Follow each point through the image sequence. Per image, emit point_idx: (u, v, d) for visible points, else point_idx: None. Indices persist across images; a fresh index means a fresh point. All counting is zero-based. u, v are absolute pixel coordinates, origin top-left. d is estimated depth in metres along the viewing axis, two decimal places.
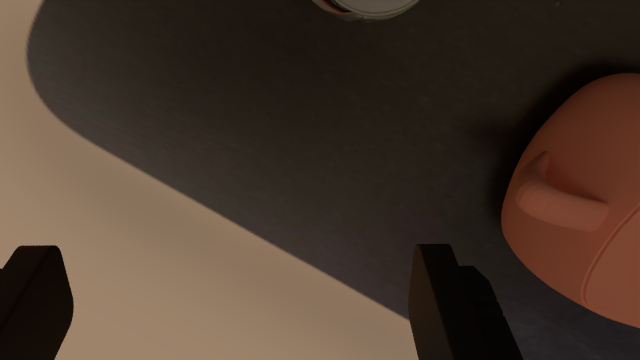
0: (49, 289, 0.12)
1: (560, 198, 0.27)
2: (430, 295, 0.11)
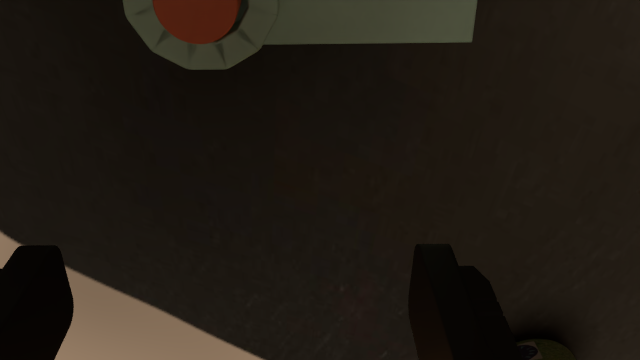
0: (49, 289, 0.12)
1: None
2: (430, 295, 0.11)
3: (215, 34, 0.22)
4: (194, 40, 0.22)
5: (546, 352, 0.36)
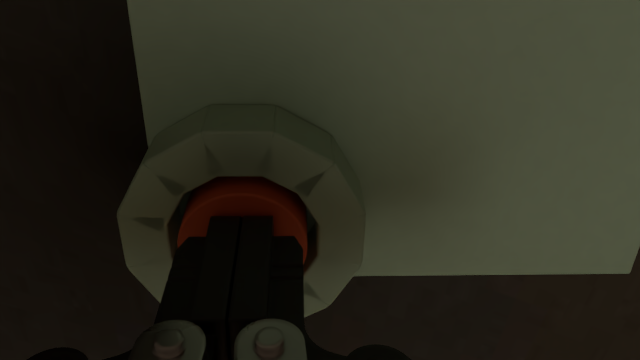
0: None
1: None
2: None
3: None
4: None
5: None
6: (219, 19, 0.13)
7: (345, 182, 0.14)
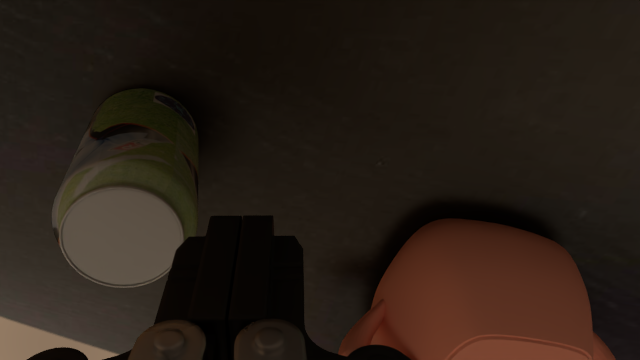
0: None
1: None
2: None
3: None
4: None
5: (196, 138, 0.32)
6: None
7: None
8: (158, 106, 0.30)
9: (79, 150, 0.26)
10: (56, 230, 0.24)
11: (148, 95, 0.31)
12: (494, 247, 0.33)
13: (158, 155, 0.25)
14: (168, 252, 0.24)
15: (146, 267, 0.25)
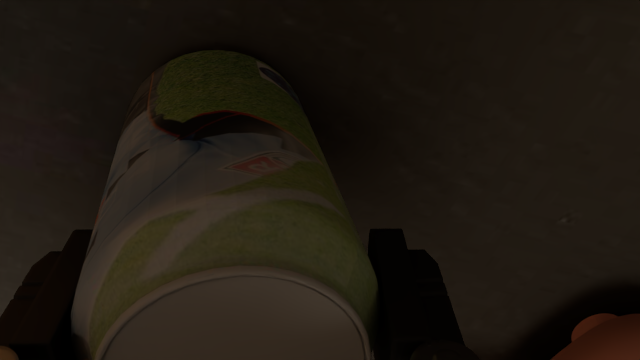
0: None
1: None
2: (378, 276, 0.12)
3: None
4: None
5: None
6: None
7: None
8: (272, 87, 0.16)
9: (137, 155, 0.13)
10: (82, 343, 0.10)
11: (249, 64, 0.17)
12: None
13: (320, 192, 0.12)
14: None
15: None
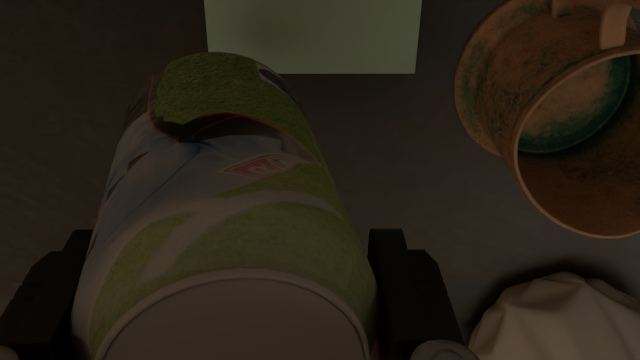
0: None
1: None
2: (378, 276, 0.12)
3: None
4: None
5: None
6: None
7: None
8: (272, 88, 0.16)
9: (137, 157, 0.13)
10: (82, 345, 0.10)
11: (248, 65, 0.17)
12: None
13: (319, 194, 0.12)
14: None
15: None
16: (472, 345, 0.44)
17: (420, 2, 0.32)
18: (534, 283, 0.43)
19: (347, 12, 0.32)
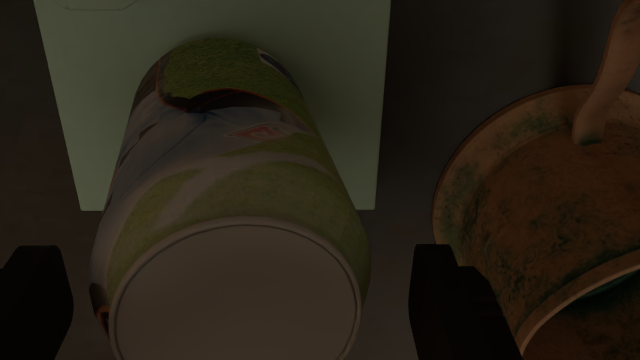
0: (49, 289, 0.12)
1: None
2: (430, 295, 0.11)
3: None
4: None
5: None
6: None
7: None
8: (272, 70, 0.18)
9: (147, 127, 0.14)
10: (99, 290, 0.11)
11: (250, 50, 0.18)
12: None
13: (315, 159, 0.13)
14: (319, 356, 0.12)
15: None
16: None
17: (379, 118, 0.22)
18: None
19: None
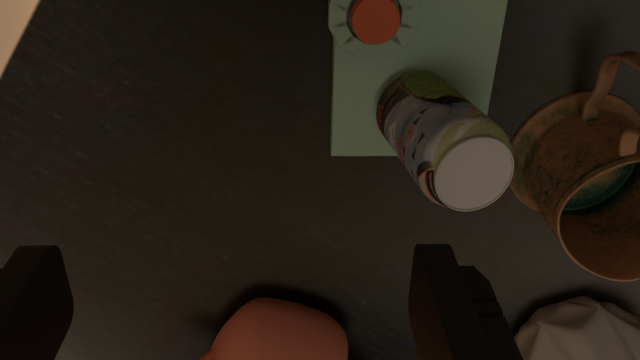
0: (49, 289, 0.12)
1: None
2: (430, 295, 0.11)
3: (357, 30, 0.38)
4: (354, 18, 0.38)
5: None
6: (445, 4, 0.40)
7: (396, 52, 0.40)
8: None
9: (423, 110, 0.36)
10: (428, 163, 0.34)
11: (437, 77, 0.41)
12: (286, 323, 0.51)
13: None
14: (496, 189, 0.35)
15: (478, 197, 0.35)
16: None
17: (487, 108, 0.44)
18: (561, 305, 0.55)
19: None
